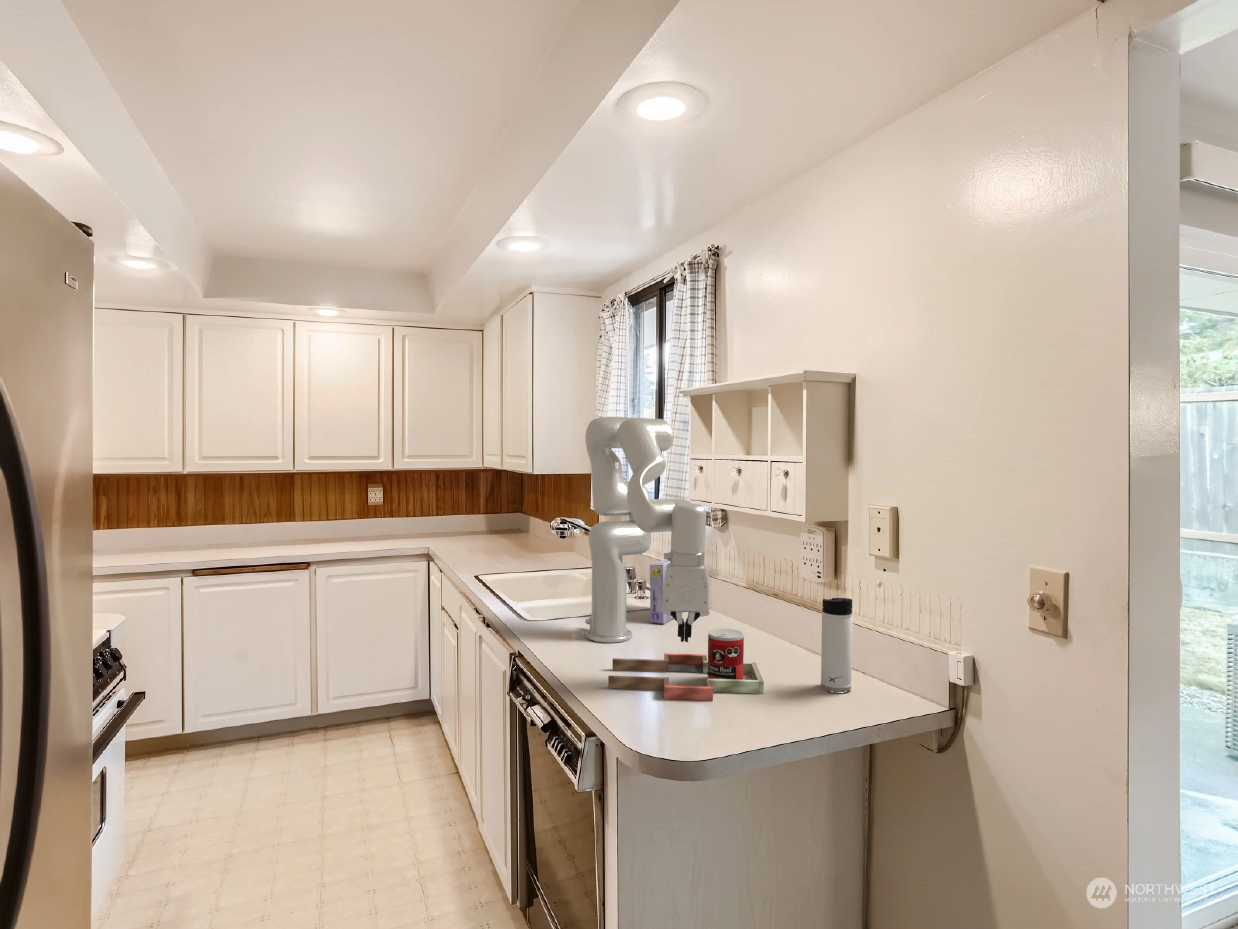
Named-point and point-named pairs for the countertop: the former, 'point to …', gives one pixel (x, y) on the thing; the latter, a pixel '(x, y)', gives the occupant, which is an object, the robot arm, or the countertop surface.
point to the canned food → (725, 654)
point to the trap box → (686, 665)
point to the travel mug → (836, 644)
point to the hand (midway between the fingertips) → (684, 640)
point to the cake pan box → (658, 592)
